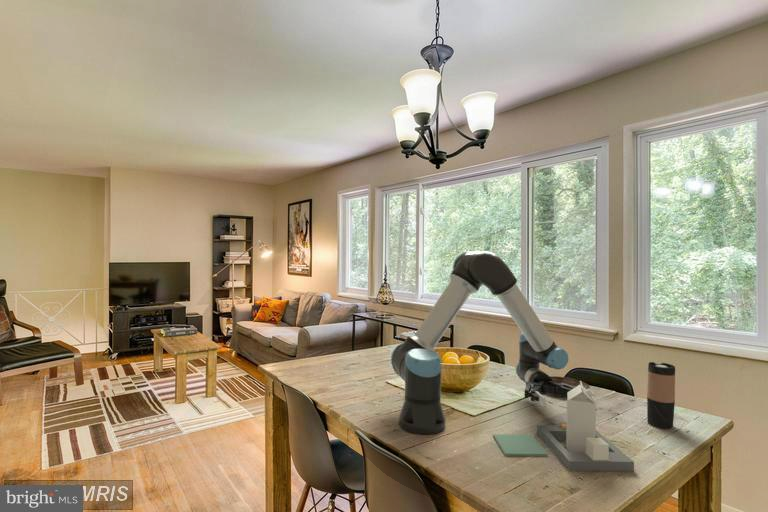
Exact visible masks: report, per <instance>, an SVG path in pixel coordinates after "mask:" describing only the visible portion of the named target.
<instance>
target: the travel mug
mask: <svg viewBox="0 0 768 512" xmlns="http://www.w3.org/2000/svg"><path fill="white" fill-rule="evenodd" d="M647 366H648V367H647V389H646V390H647V393H646V402H647V403H646V404H647V405H646V410H647V411H646V412H647V413H646V416H647V423H648V425H650V426H652V427H655V428H659V429H664V430H670V429H673V428H674V420H675V419H674V416H675V404H676V399H675V398H676V366H675V365H673V364H670V363H666V362H661V363H655V361H651V362H648V364H647Z"/></svg>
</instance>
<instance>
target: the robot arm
mask: <svg viewBox="0 0 768 512" xmlns="http://www.w3.org/2000/svg"><path fill="white" fill-rule="evenodd" d="M452 269H453V270H452V271H451V273H450V274H449V277H450V281H449V282H448V284H447V286H446V288H445V289H444V290H443V292H442V293H441V295H440V297H438V299H437V301H436V302H435V304H434V305H433V307H432V308H431V310H430V311H429V312H428V314H427V315H426V317H425V318H424V320H423V321H422V323H421V325H419V328H418V329H417V331H415V333H414V334H411V335H408V336H407V337H406V339H405V340H404V342H402V343H400V344H397V346H396V347H394V349H393V350H392V353H391V356H390V363H391V367H392V369H393V371H394V373H396V375H397V376H399V377H400V378H401V379H402V380H403V381H404V401H403V404H402V407H401V410H400V413H399V416H398V425H399V427H400V428H401V429H402V430H404V431H406V432H409V433H412V434H418V435H433V434H437V433H440V432H442V431H443V430H445V428H446V416H445V412H444V409H443V405H442V402H441V399H442V398H441V395H442V394H441V393H442V391H441V390H442V369H443V368H442V367H443V366H442V365H443V364H442V358H441V356H440V355H439V353H438V352H435V349H436V346H437V345H438V343H439V341H440V340H441V339H442V337H443V336H444V334H445V333H446V331H447V330H448V328H449V327H450V325H451V324H452V322H453V321H454V319H455V318H456V317H457V315H458V313H459V312H460V310H461V309H462V308H463V306H464V304H465V303H466V301H467V300H468V298H469V297H470V295H472V294H476V293H478V291H479V290H480V288H481V286H483V285H484V286H485V287H486V288H487V289H488V290H489V291H490V293H491V295H493V296H495V297H497V298H498V299H499V301H500V302H501V304H502V305H503V306H504V308H505V309H506V311H507V312H508V313H509V316H510V317H511V318H512V320H513V321H514V323H515V324H516V326H517V327H518V329H519V330H520V331H521V333H520V335H519V342H518V344H519V350H518V351H519V357H518V358H519V360H518V363H517V364H516V366H515V373H516V375H517V377H518V378H519V379H520V380H521V381H522V382H524V383H525V388H524V398H525V399H529V398H530V401H531V402H537V403H538V404H539V405H540V406H541V407H542V408H546V403H547V401H546V400H547V399H546V397H544V395H545V396H546V395H548V394H551V395H554V394H556V395H555V396H558V395H560V394H561V395H565V396H567V392H569V391H571V390H572V389H574V388H575V387H573V386H570V385H567V384H565V383H563V382H561V385H560V384H557V383H554V382H553V380H552V378H551V377H550V376H551V375H548V374H547V373H546V372H545V371H543V370H542V369H540V368H541V367H540V364H542V365H543V366H544V365H545V366H547V367H548V368H549V369H550V368H552V369H554V370H562V369H564V368H565V367H566V366H567V365H568V363H569V358H570V357H569V353H568V352H567V351H566V350H565V349H563V348H562V347H560V346H558V345H557V344H556V342H555V341H554V340H553V339H554V338H552V336H551V334H550V333H549V332H548V330H547V329H546V327H545V326H544V324H543V323H542V321H541V320H540V317H538V315H537V314H536V312H535V311H534V309H533V307H532V306H531V304H530V303H529V302H528V300H527V299H526V297H525V295H524V294H523V292H522V290H521V289H520V287H519V286H518V285H517V283H518V279H517V277H516V276H515V275H514V272H513V271H512V270H511V269H510V268H509V266H508V265H507V264H506V262H505V261H504V260H503V259H502V258H501V257H500V256H499V255H498V254H497V253H494V252H491V251H485V250H484V251H483V250H482V251H477V250H468V251H465V252H461V253H460V254H459V255H458V256H456V257H455V259H454V262H453V265H452ZM557 390H558V392H556V391H557ZM552 393H553V394H552Z"/></svg>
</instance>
